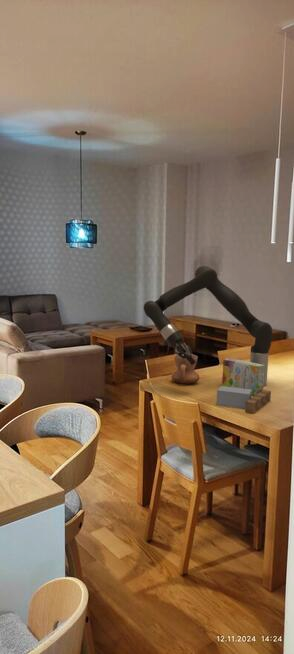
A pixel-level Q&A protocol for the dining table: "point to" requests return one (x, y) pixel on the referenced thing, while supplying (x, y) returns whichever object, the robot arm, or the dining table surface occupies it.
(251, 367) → the snack box
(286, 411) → the dining table surface
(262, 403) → the notched wooden bar
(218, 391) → the brick
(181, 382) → the ceramic jug
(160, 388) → the dining table surface
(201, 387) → the dining table surface
